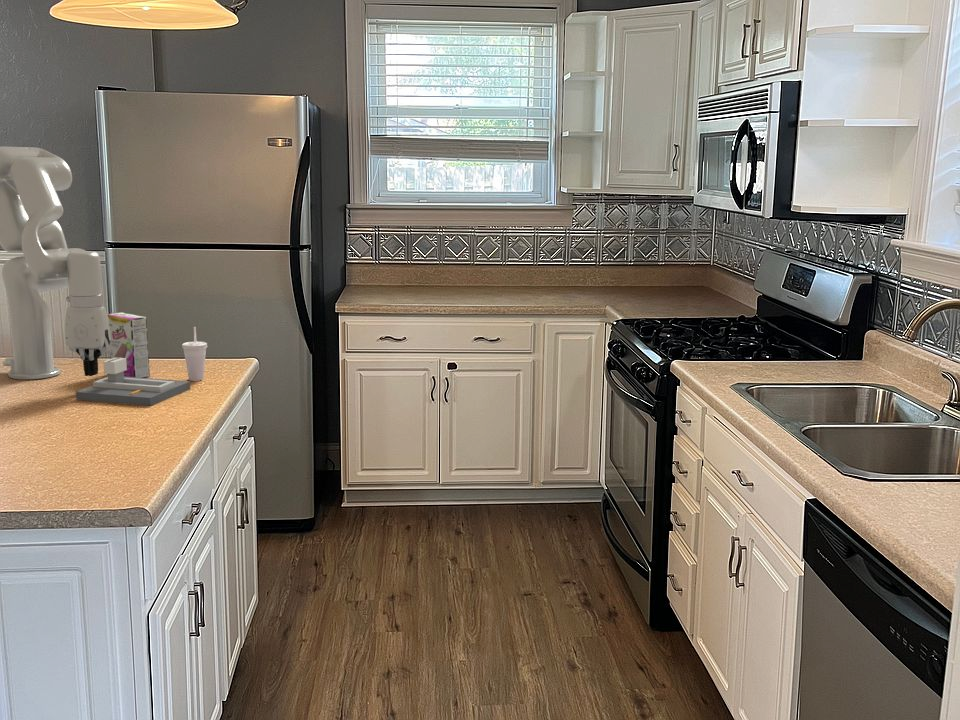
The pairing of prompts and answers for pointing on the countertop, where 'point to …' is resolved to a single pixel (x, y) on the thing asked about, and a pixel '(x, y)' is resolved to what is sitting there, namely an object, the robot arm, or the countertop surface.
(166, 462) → the countertop surface
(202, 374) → the smoothie
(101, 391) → the board
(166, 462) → the countertop surface
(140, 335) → the candy bar box
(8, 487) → the countertop surface
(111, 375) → the fader knob
